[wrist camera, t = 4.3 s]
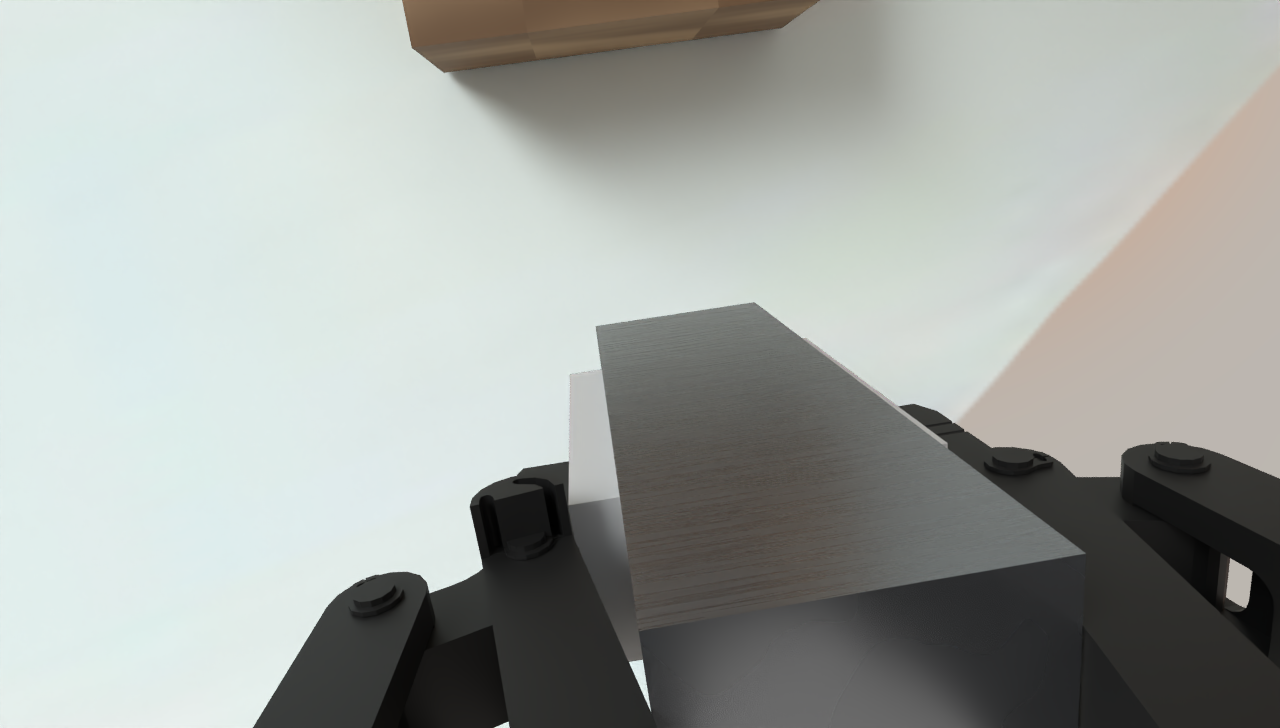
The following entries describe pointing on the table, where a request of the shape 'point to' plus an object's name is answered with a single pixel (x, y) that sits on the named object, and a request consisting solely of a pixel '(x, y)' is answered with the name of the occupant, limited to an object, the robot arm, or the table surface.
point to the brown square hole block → (575, 26)
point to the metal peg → (822, 546)
